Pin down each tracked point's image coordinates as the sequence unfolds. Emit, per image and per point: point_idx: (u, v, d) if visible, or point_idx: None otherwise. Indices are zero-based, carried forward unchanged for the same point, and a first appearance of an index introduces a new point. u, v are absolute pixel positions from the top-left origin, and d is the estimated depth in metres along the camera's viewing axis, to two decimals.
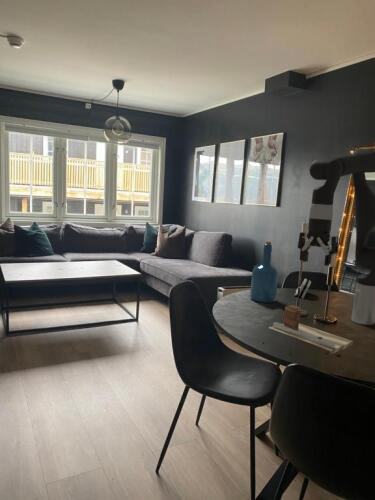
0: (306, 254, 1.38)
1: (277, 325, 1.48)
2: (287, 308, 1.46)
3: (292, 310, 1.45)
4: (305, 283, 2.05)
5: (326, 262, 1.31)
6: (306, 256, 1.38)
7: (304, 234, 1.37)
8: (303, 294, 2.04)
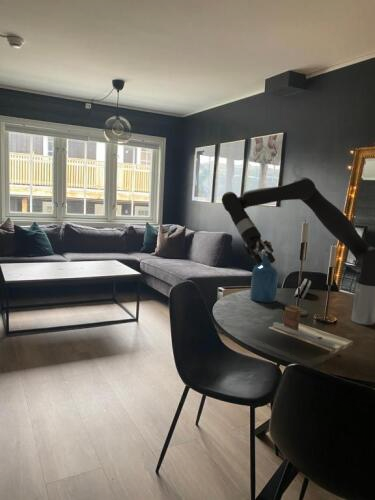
0: (269, 257, 1.60)
1: (277, 325, 1.48)
2: (287, 308, 1.46)
3: (292, 310, 1.45)
4: (305, 283, 2.05)
5: None
6: (271, 258, 1.60)
7: None
8: (303, 294, 2.04)
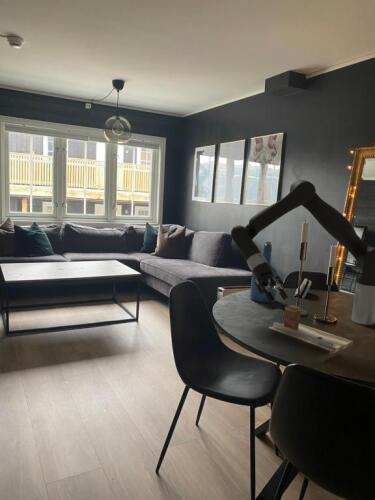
0: (281, 293, 1.55)
1: (277, 325, 1.48)
2: (287, 308, 1.46)
3: (292, 310, 1.45)
4: (306, 283, 2.06)
5: (269, 300, 1.49)
6: (283, 294, 1.55)
7: None
8: (304, 294, 2.04)
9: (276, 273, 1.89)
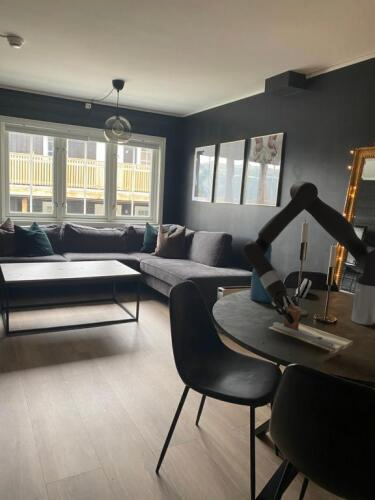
0: None
1: (277, 325, 1.48)
2: (287, 308, 1.46)
3: (292, 310, 1.45)
4: (306, 283, 2.06)
5: (288, 321, 1.45)
6: None
7: None
8: (304, 294, 2.04)
9: None
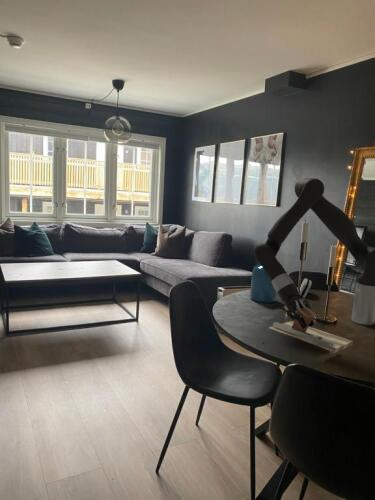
0: None
1: (277, 325, 1.48)
2: (301, 311, 1.42)
3: (306, 315, 1.40)
4: (306, 283, 2.06)
5: None
6: None
7: None
8: (304, 294, 2.05)
9: None
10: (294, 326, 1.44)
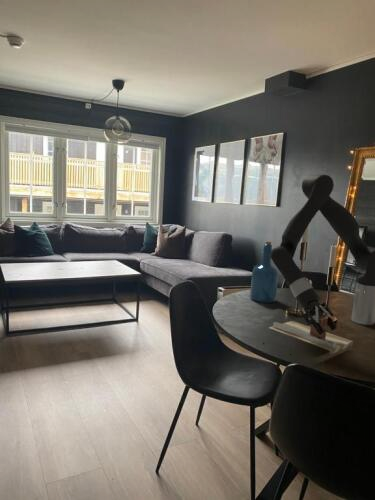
0: (329, 323, 1.40)
1: (277, 325, 1.48)
2: None
3: (319, 318, 1.36)
4: None
5: (318, 331, 1.34)
6: (331, 324, 1.39)
7: None
8: None
9: (276, 273, 1.89)
10: None
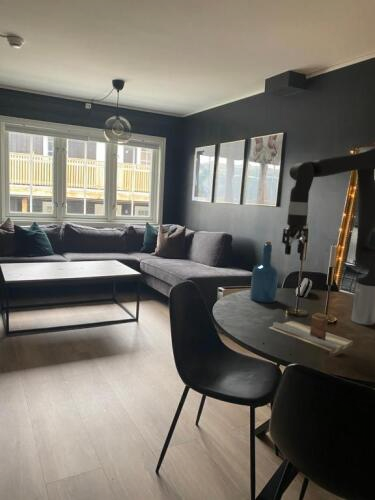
0: (299, 246, 1.57)
1: (277, 325, 1.48)
2: (314, 316, 1.38)
3: (319, 319, 1.36)
4: (307, 283, 2.07)
5: None
6: (300, 248, 1.57)
7: None
8: (306, 293, 2.05)
9: (276, 273, 1.89)
10: None
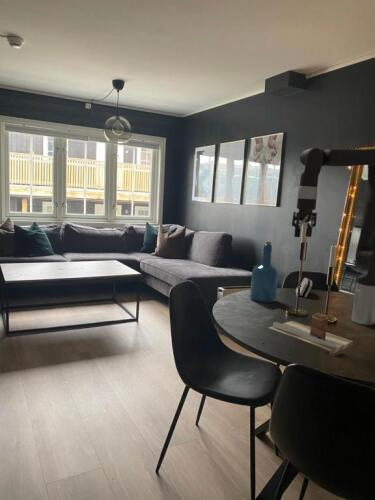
0: (308, 230, 1.62)
1: (277, 325, 1.48)
2: (314, 316, 1.38)
3: (319, 319, 1.36)
4: (307, 282, 2.07)
5: (295, 233, 1.58)
6: (308, 232, 1.62)
7: None
8: (306, 293, 2.06)
9: (276, 273, 1.89)
10: None
